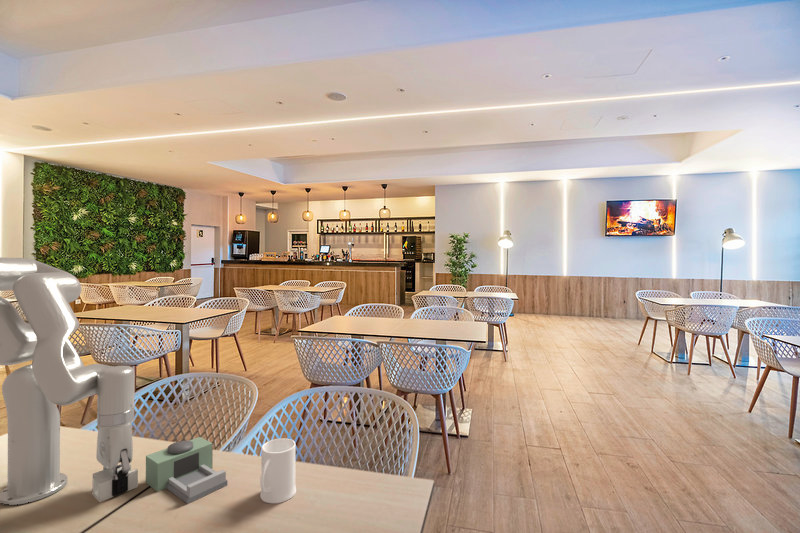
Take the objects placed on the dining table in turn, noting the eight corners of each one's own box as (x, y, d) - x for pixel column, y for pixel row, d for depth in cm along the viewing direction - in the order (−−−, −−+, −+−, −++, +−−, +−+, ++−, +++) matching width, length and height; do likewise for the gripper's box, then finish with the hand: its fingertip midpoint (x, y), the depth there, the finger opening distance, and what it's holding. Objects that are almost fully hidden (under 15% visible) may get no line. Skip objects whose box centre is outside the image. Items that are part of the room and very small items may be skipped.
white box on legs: (99, 502, 93) (99, 480, 93) (92, 494, 96) (92, 473, 96) (137, 486, 99) (137, 466, 99) (129, 480, 102) (129, 460, 102)
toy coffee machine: (145, 482, 101) (145, 451, 101) (199, 460, 113) (199, 433, 113) (178, 508, 91) (179, 474, 91) (234, 481, 102) (234, 451, 102)
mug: (273, 515, 88) (274, 462, 88) (243, 507, 91) (243, 456, 91) (302, 487, 100) (303, 440, 100) (274, 481, 102) (274, 435, 102)
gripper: (86, 413, 99) (85, 484, 99) (111, 430, 89) (110, 509, 89) (120, 405, 105) (119, 472, 106) (147, 420, 96) (146, 494, 96)
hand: (115, 488), depth 97 cm, fingers closed on white box on legs, 5 cm apart
